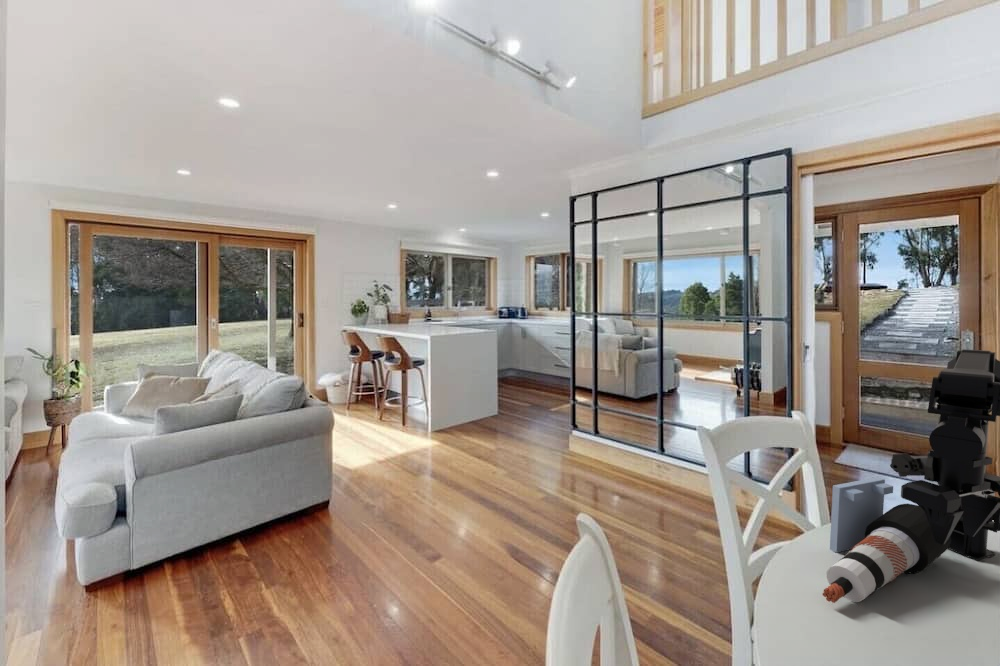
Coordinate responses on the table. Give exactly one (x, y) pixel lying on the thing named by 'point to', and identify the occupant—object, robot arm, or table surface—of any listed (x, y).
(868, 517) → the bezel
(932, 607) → the table surface
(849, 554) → the cable
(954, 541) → the robot arm
